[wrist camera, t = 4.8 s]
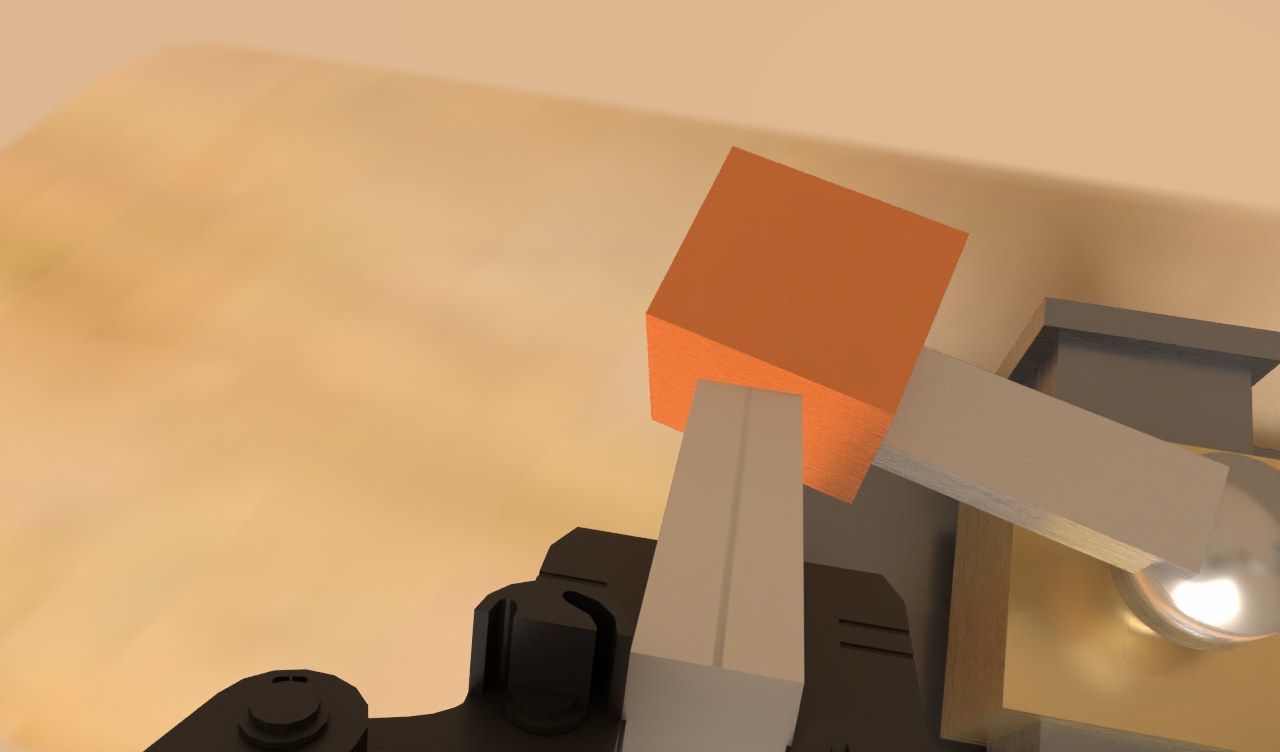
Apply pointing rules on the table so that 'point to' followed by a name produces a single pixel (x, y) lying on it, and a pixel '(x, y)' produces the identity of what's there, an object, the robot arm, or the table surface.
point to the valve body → (1068, 562)
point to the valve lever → (947, 400)
